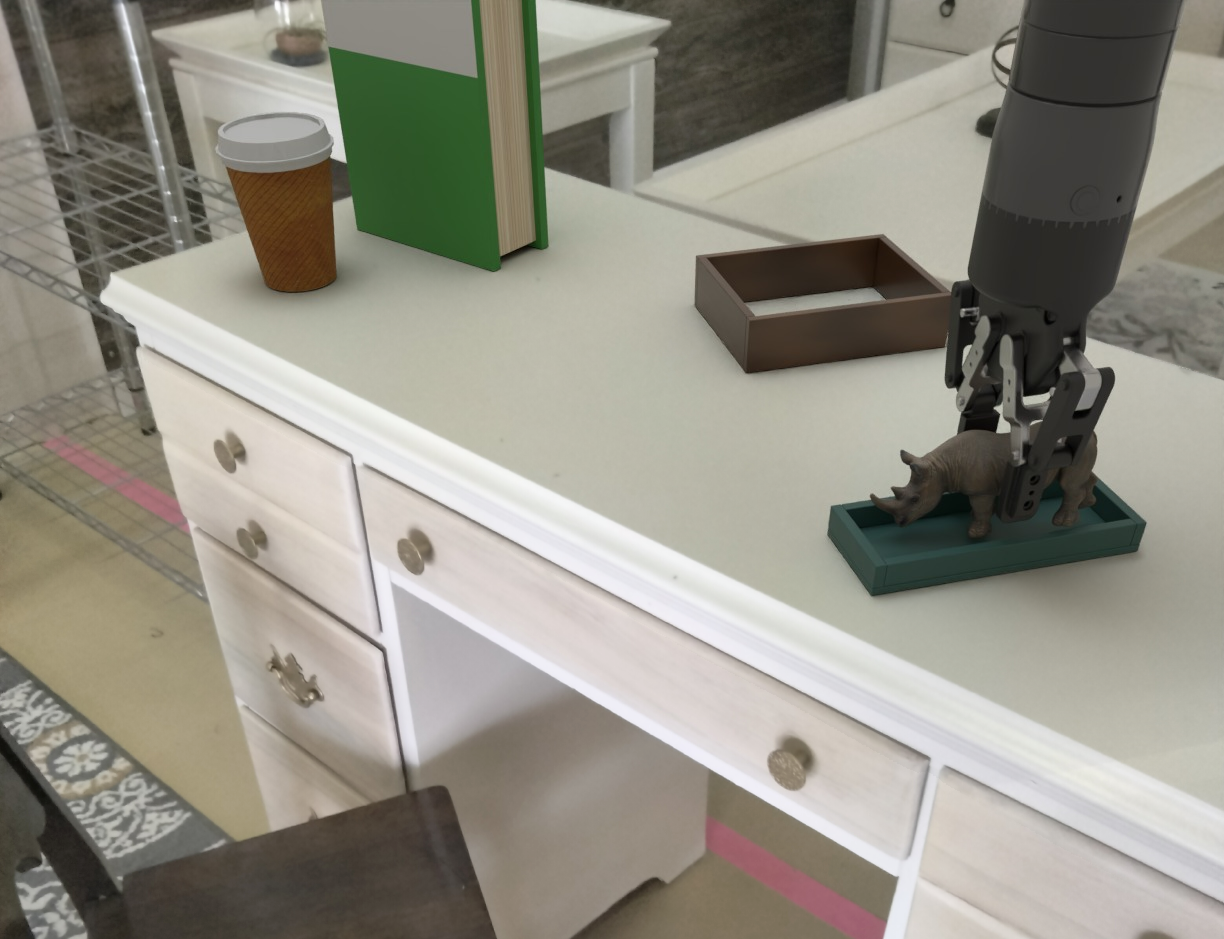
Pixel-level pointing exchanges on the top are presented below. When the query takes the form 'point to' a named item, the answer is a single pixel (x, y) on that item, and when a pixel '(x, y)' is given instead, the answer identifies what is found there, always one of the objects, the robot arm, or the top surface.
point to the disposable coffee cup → (284, 195)
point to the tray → (976, 540)
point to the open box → (828, 332)
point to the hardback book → (442, 122)
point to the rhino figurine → (983, 479)
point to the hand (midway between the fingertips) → (990, 492)
